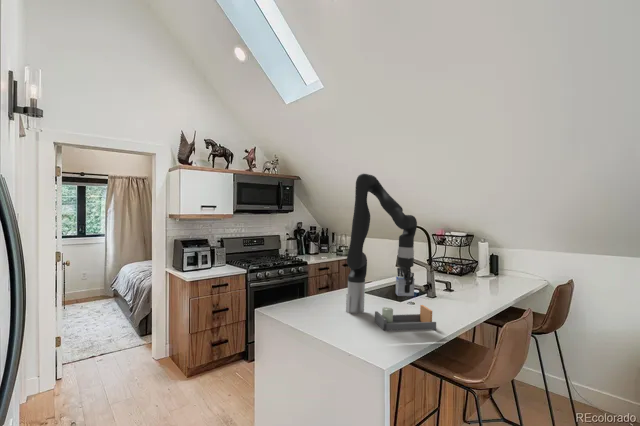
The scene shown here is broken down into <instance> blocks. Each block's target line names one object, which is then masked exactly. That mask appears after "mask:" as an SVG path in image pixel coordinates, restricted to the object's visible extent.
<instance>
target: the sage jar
mask: <svg viewBox="0 0 640 426" xmlns="http://www.w3.org/2000/svg"><path fill="white" fill-rule="evenodd" d="M381 315H382V316H383V317H384V318H385V319H386V320H387V323H393V315H394V308H392V307H382V313H381Z"/></svg>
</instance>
